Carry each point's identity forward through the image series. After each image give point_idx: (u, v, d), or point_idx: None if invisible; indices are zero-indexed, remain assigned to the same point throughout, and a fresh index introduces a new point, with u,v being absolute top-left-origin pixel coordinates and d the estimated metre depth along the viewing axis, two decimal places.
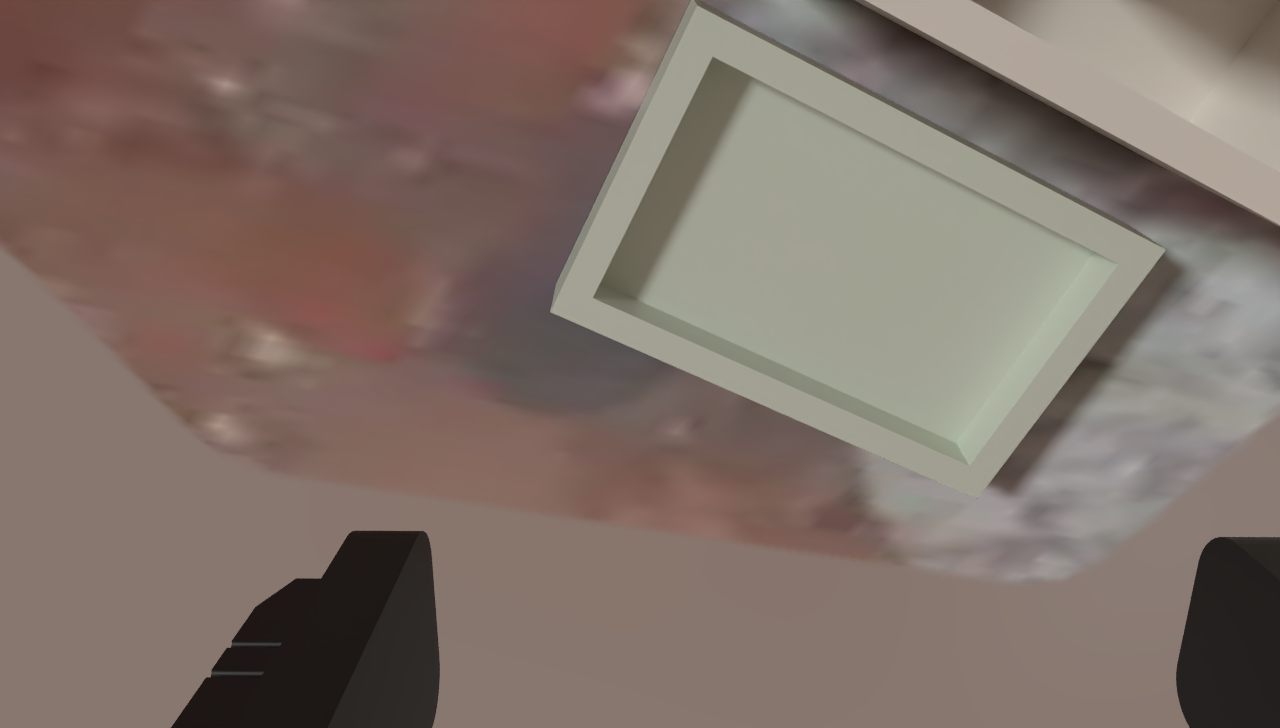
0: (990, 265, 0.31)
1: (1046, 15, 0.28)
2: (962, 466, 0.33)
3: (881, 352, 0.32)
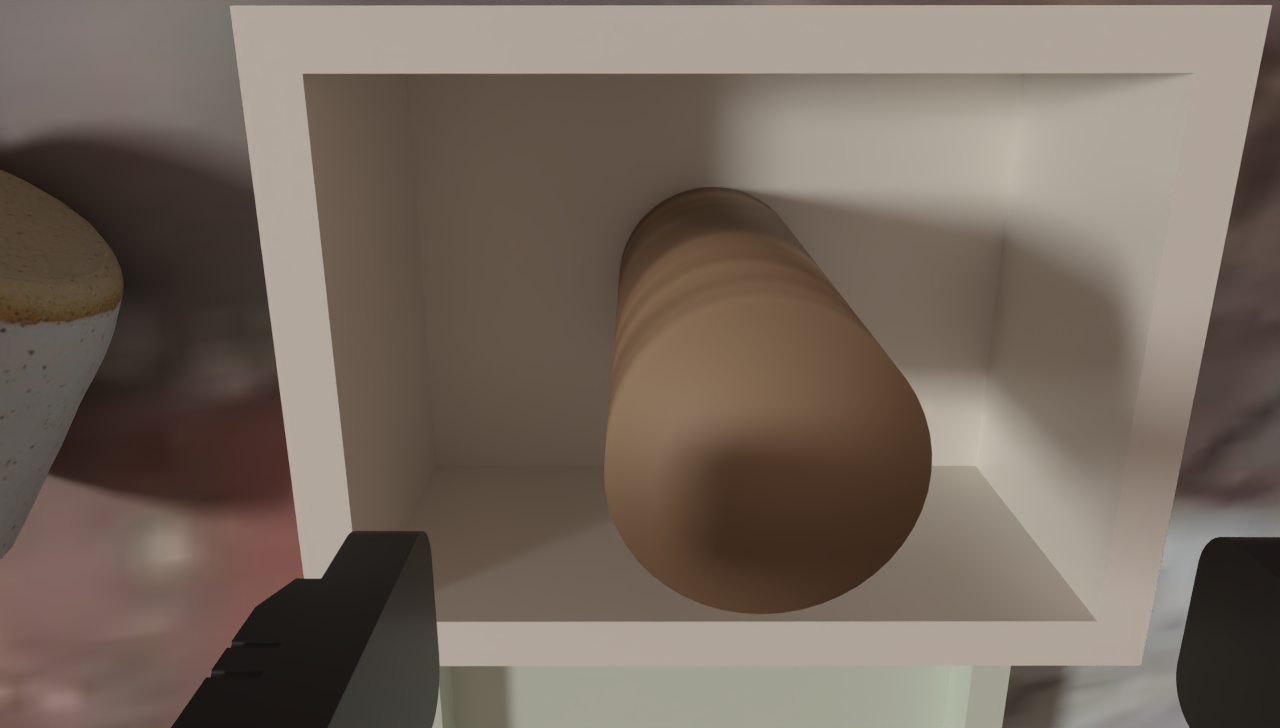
0: None
1: None
2: None
3: None
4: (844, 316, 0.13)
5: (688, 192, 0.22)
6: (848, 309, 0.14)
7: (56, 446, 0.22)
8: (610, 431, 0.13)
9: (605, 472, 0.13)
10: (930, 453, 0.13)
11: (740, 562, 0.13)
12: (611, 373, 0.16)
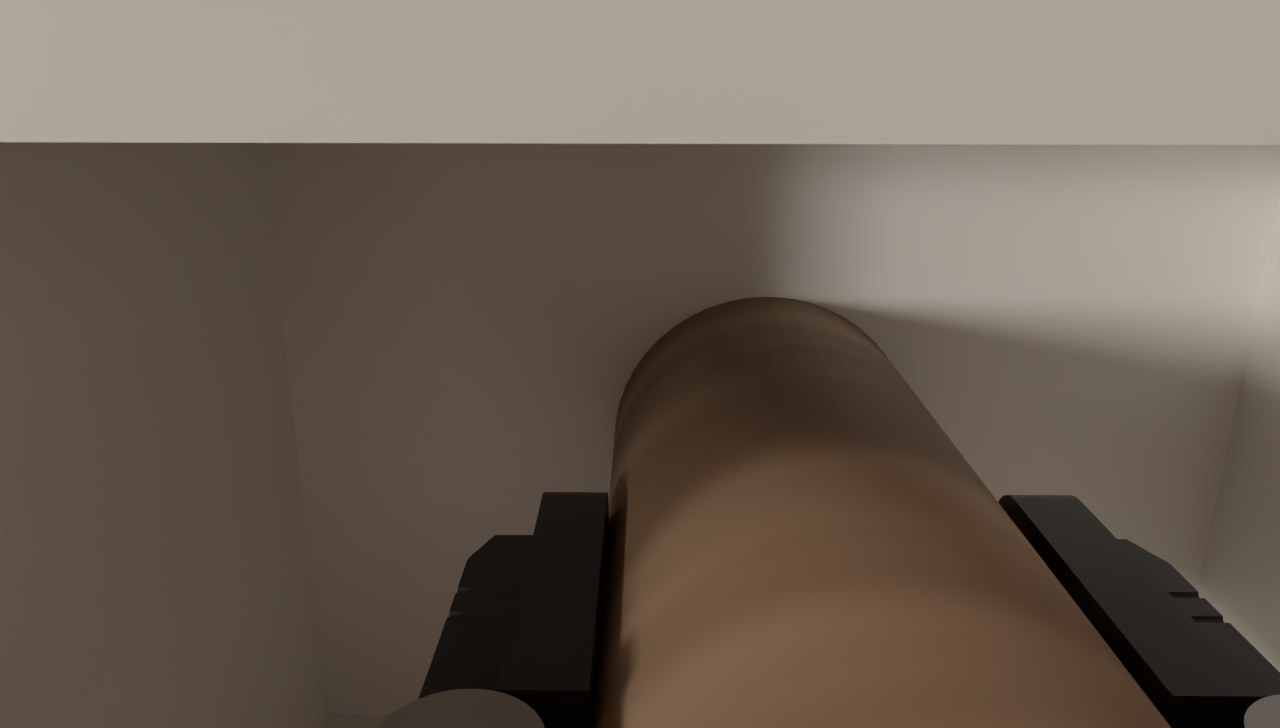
0: None
1: None
2: None
3: None
4: None
5: (729, 308, 0.13)
6: None
7: None
8: None
9: None
10: None
11: None
12: None
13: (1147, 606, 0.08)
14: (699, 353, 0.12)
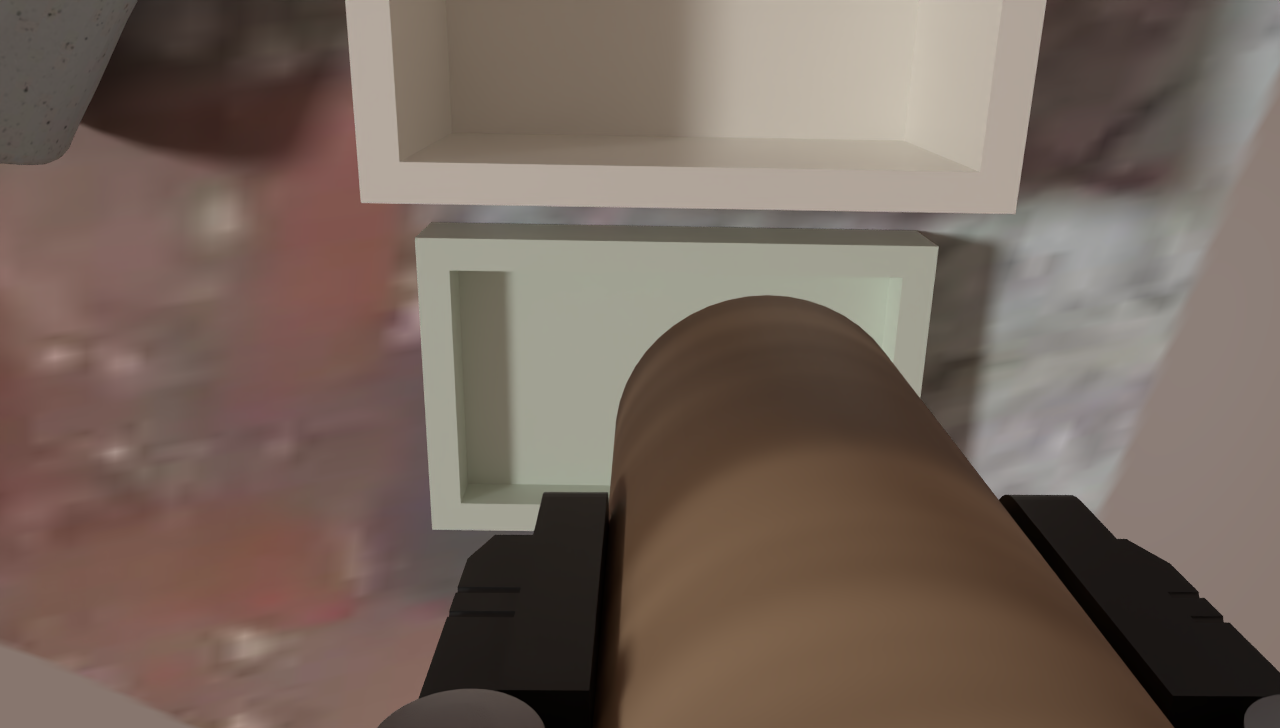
0: None
1: (722, 102, 0.29)
2: None
3: None
4: None
5: (729, 306, 0.13)
6: None
7: (103, 57, 0.27)
8: None
9: None
10: None
11: None
12: None
13: (1147, 606, 0.08)
14: (699, 351, 0.12)
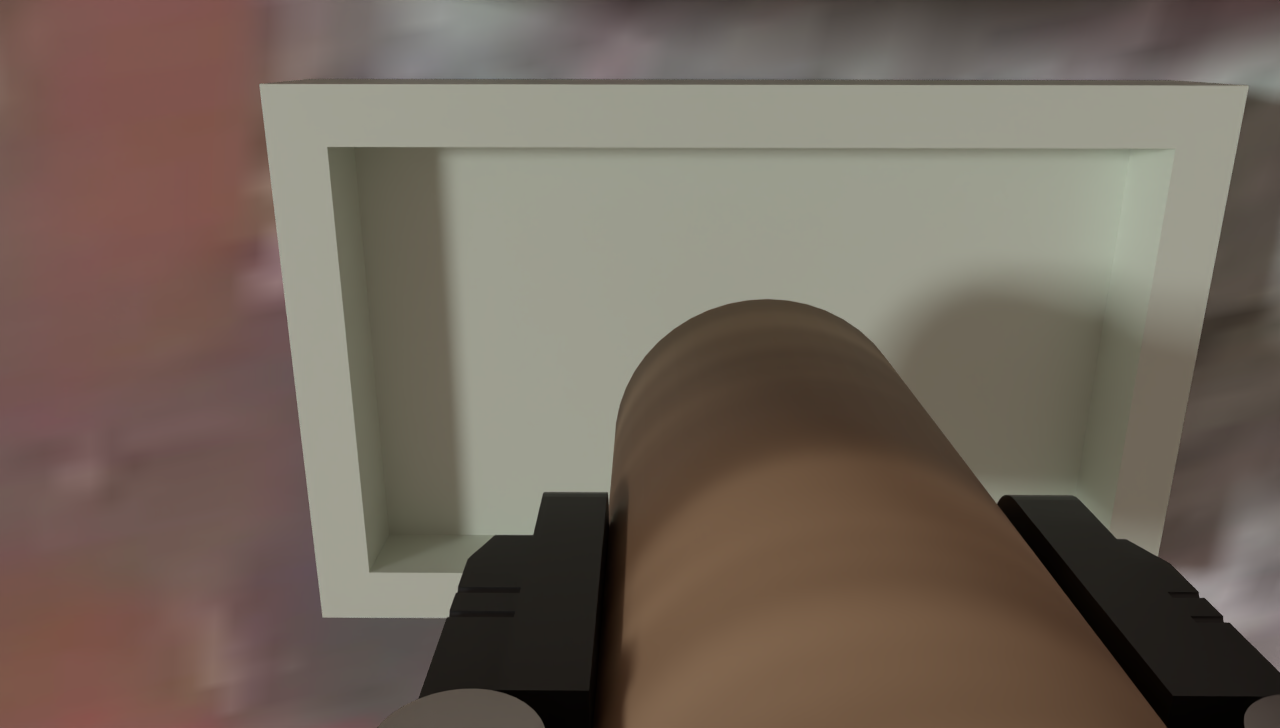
0: (966, 248, 0.18)
1: None
2: None
3: None
4: None
5: (728, 310, 0.13)
6: None
7: None
8: None
9: None
10: None
11: None
12: None
13: (1147, 606, 0.08)
14: (699, 355, 0.12)
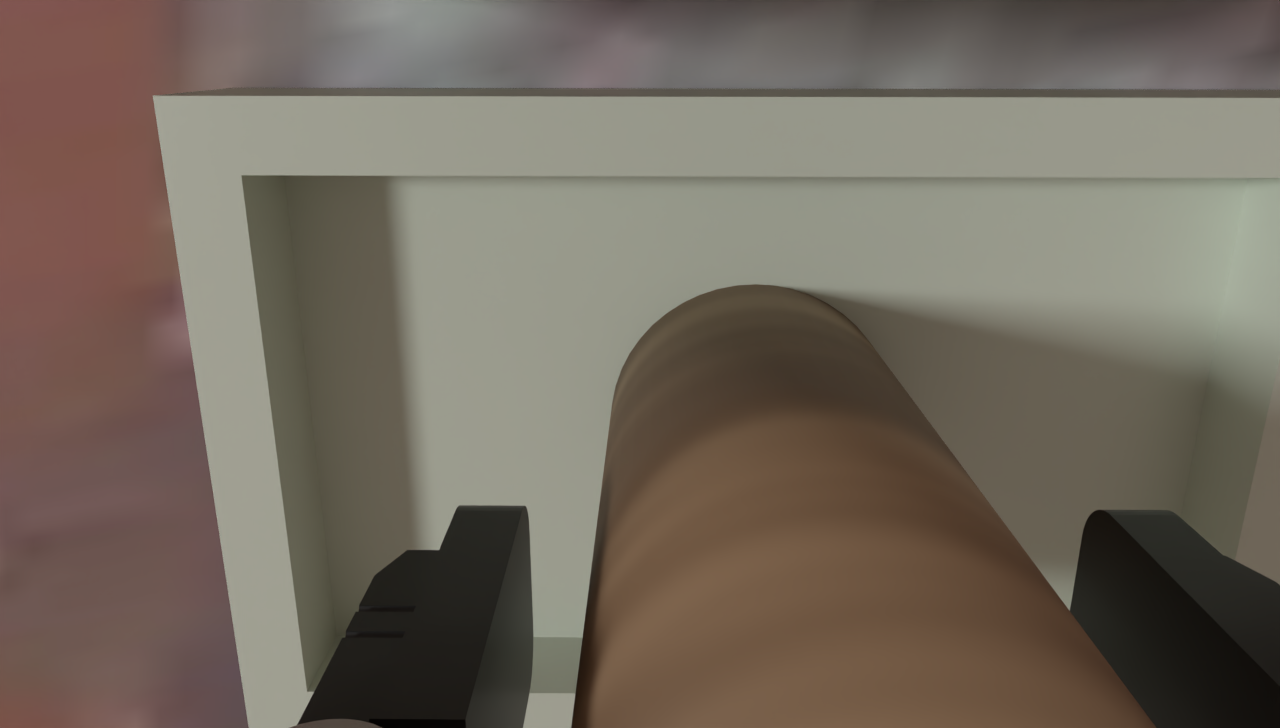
0: (1041, 296, 0.14)
1: None
2: None
3: None
4: None
5: (718, 294, 0.14)
6: (1112, 682, 0.06)
7: None
8: None
9: None
10: None
11: None
12: None
13: (1273, 629, 0.08)
14: (689, 335, 0.13)
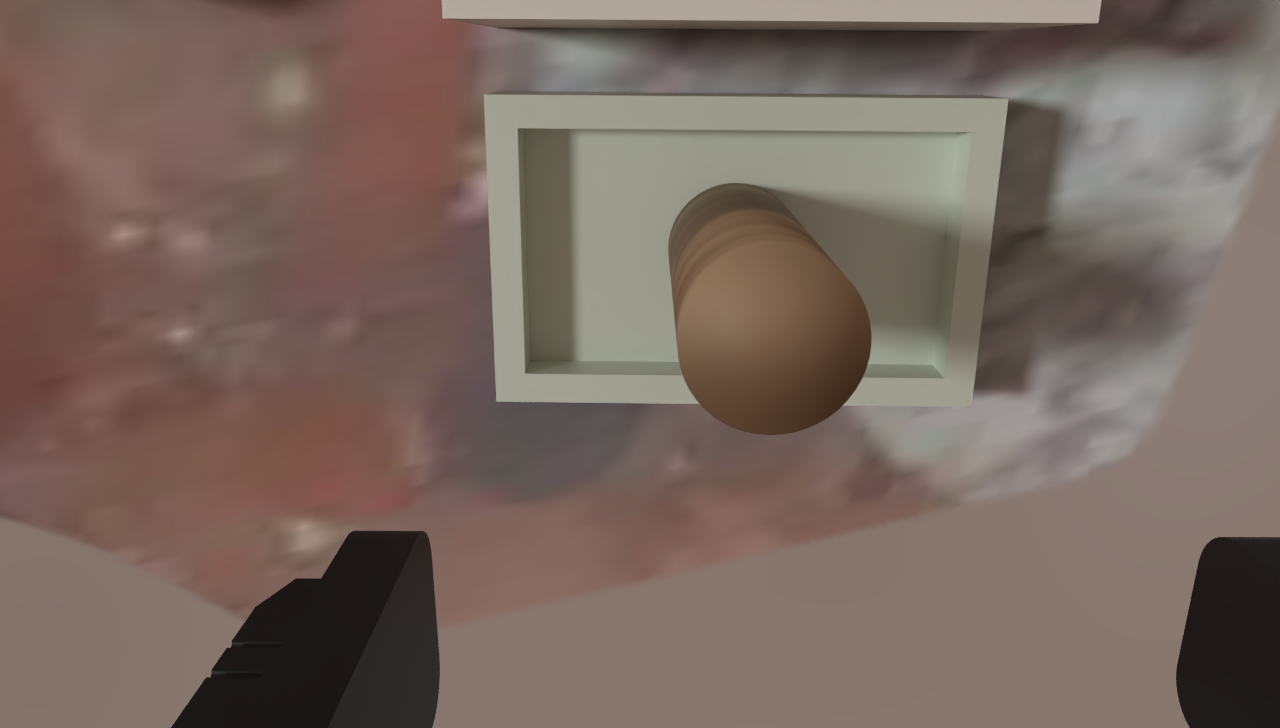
0: (867, 189, 0.32)
1: None
2: (938, 382, 0.32)
3: None
4: (820, 253, 0.22)
5: (719, 186, 0.31)
6: (824, 253, 0.23)
7: None
8: (682, 318, 0.22)
9: (678, 344, 0.22)
10: (870, 333, 0.22)
11: (757, 401, 0.22)
12: (674, 297, 0.25)
13: None
14: (706, 199, 0.30)
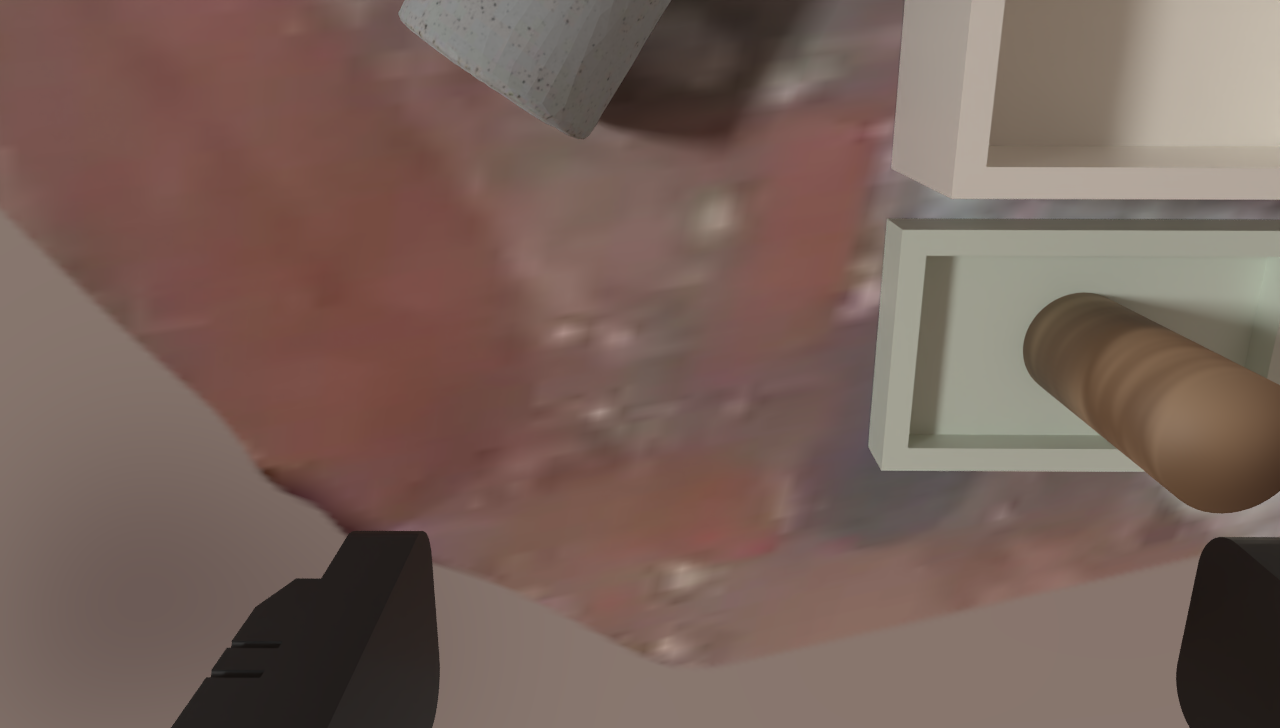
0: (1190, 297, 0.39)
1: (1146, 117, 0.37)
2: None
3: None
4: None
5: (1072, 296, 0.38)
6: None
7: None
8: (1166, 428, 0.29)
9: (1161, 447, 0.29)
10: None
11: (1215, 488, 0.29)
12: (1113, 402, 0.32)
13: None
14: (1075, 310, 0.37)
